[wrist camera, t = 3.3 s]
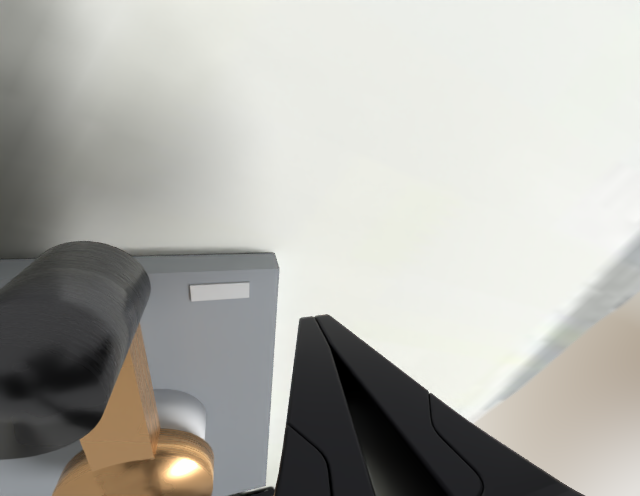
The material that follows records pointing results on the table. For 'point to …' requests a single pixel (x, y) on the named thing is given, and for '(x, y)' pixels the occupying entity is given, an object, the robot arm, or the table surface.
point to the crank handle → (89, 378)
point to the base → (194, 365)
